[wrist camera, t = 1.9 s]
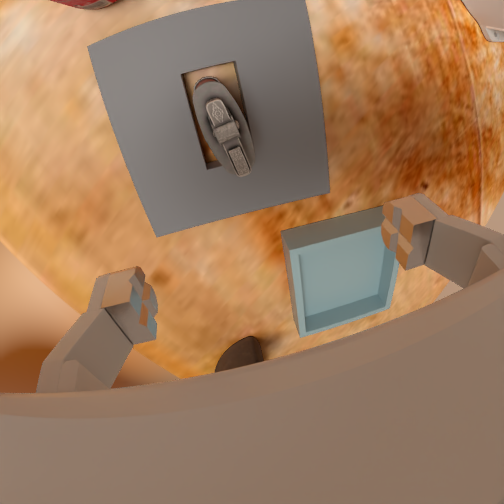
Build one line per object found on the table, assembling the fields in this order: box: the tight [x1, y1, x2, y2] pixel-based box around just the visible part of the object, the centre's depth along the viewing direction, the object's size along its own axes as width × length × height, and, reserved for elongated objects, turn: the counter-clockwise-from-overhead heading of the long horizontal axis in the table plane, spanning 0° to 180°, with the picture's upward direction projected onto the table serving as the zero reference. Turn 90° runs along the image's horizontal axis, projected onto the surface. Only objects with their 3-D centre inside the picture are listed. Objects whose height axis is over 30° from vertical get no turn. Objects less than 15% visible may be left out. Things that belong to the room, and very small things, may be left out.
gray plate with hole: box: [87, 0, 330, 237], centre depth 26 cm, size 20×22×2 cm
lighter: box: [193, 77, 255, 177], centre depth 23 cm, size 8×3×10 cm, turn 21°
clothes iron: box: [215, 337, 264, 373], centre depth 47 cm, size 8×16×13 cm, turn 163°
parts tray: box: [281, 206, 399, 338], centre depth 41 cm, size 16×18×4 cm
